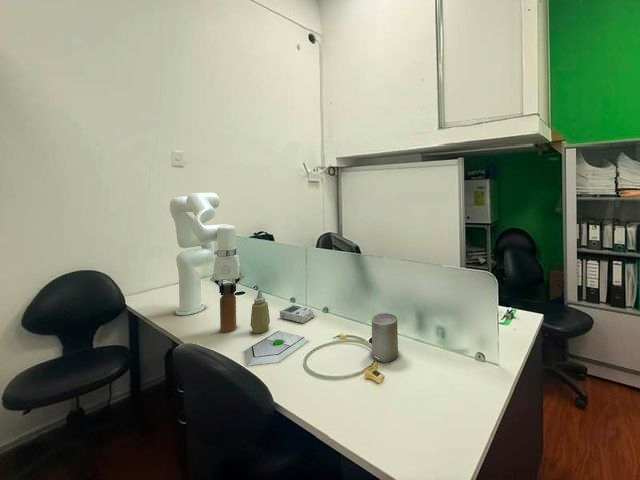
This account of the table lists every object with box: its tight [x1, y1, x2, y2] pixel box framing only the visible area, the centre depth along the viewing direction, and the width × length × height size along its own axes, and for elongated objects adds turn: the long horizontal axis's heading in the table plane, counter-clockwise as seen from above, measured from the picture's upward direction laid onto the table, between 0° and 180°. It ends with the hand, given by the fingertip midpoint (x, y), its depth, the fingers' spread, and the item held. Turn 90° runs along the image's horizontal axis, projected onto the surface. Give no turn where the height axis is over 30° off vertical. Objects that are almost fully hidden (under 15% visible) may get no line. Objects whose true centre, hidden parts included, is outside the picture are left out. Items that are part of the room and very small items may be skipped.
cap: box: [223, 282, 233, 293], centre depth 133 cm, size 4×4×4 cm
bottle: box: [219, 292, 237, 334], centre depth 133 cm, size 6×6×20 cm
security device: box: [244, 330, 307, 366], centre depth 115 cm, size 17×22×2 cm
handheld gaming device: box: [279, 304, 315, 324], centre depth 144 cm, size 9×15×4 cm, turn 63°
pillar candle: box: [370, 312, 399, 363], centre depth 110 cm, size 10×10×15 cm
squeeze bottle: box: [249, 289, 271, 334], centre depth 131 cm, size 8×8×18 cm
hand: (227, 293), depth 133 cm, fingers closed on cap, 3 cm apart
